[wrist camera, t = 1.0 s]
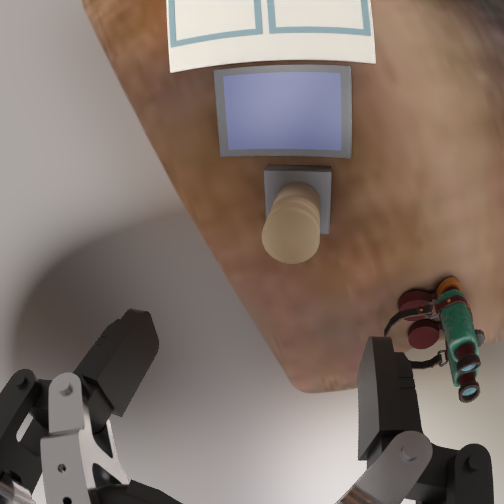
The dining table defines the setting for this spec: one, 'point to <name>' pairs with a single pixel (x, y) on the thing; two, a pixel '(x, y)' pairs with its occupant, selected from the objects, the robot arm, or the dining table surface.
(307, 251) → the stamp
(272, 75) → the ink pad
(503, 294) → the dining table surface
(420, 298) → the binoculars
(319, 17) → the form board
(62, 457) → the robot arm
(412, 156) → the dining table surface
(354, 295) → the dining table surface
